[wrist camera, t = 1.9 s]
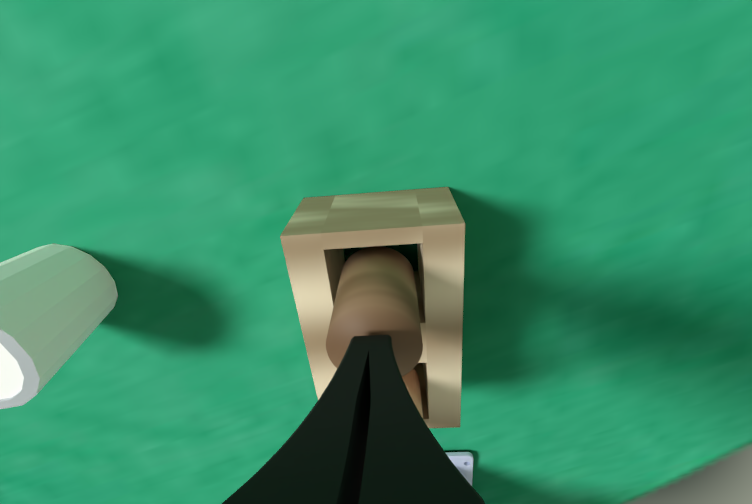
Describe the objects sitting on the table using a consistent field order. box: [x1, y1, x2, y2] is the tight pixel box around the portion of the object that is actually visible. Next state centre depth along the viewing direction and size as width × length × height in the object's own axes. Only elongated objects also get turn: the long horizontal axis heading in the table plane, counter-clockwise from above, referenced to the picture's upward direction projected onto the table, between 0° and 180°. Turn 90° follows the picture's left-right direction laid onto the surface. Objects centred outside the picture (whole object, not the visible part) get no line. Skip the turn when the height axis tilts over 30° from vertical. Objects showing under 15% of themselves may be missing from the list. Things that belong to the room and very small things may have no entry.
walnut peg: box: [326, 246, 423, 376], centre depth 16 cm, size 4×4×5 cm
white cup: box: [0, 244, 118, 409], centre depth 21 cm, size 7×7×7 cm
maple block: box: [280, 187, 465, 428], centre depth 21 cm, size 13×8×5 cm, turn 5°
